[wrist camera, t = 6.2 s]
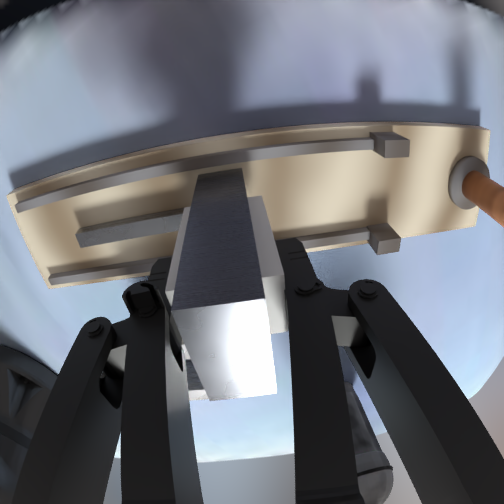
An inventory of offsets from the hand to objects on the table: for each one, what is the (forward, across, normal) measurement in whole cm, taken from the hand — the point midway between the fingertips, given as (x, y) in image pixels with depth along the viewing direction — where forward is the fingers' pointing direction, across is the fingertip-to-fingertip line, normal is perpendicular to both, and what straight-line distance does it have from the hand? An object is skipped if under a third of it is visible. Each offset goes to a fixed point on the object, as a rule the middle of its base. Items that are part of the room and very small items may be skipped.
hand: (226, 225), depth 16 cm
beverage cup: (+4, +8, -25) cm, 27 cm away
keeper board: (+4, +2, 0) cm, 4 cm away
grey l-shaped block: (+2, -4, 0) cm, 5 cm away
